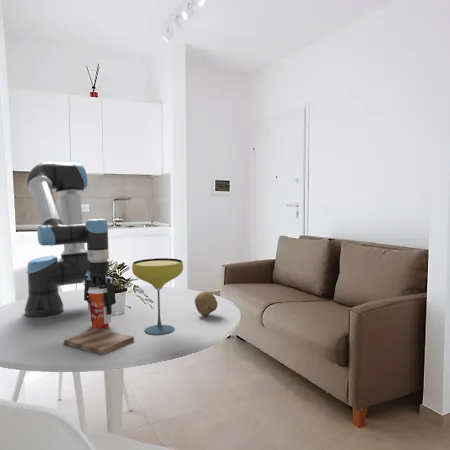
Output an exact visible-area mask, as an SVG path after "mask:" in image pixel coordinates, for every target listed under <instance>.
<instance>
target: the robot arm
mask: <svg viewBox="0 0 450 450" xmlns="http://www.w3.org/2000/svg"><path fill="white" fill-rule="evenodd" d="M26 185H27V190H28V191H29V192H30V193H31V194H32V196H33V200H34V204H35V208H36V212H37V214H38V218H39V222H40V225H39V226H38V228H37V241H38V244H39V245H40V246H42V247H43V246H50V247H51V246H52V247H53V246H61V245H63V251H62V253H61V254H60V258H58V256H56V255H47V256H41V257H40V256H39V257H36V258H34V259H31V260H30V261H29V262H28V263H27V267H26V268H27V271H26V273H27V287H28V290H27V291H28V296H27V299H26V304H25V308H24V315H25V316H27V317H32V318H33V317H35V318H37V317H47V316H53V315H57V314H59V313H62V312H63V311H64V303H63V301H62V298H61V296H60V294H59V287H60V286H68V285H75V284H82V282H83V281H85V282H84V288H83V289H84V291H83V292H84V294H83V300H84V301H86V302H87V303H88V312H89V313H88V314H89V316H88V317H89V321H90V322H91V313H90V303H89V293H88V290H89V287H97V286H99V289H105V288H107V292H106V293H103V299H104V303H105V305H104V324H107V323H109V324H110V323H112V314H113V313H112V306H113V305H115V304H116V303H117V301H116V300H117V299H116V293H115V285H114V283H115V278H114V276H113V277H110V276H109V274H108V271H109V270H110V265H109V264H110V262H109V259H110V257H109V254H110V253H109V226H108V221H107V219H105V218H95V219H94V218H92V219H87V220H86V222H83V212H82V211H83V209H82V197H81V196H82V195H83V194H84V193H85V191H84V190H85V189H87V187H88V176H87V172H86V169H85V167H84V166H83V165H82V163H77V162H55V161H54V162H51V161H45V162H40V163H39V164H37V165H35V166H33V167H32V169H31V170H30V171H29V173H28V175H27V179H26ZM53 190H55V193H56V195H58V196H59V198H60V210H61V213H60V210H59V209H58V208H59V207H58V205H57V200H56V199H55V195H54V192H53ZM85 244H86V247H85ZM103 285H104V286H103ZM103 292H104V291H103Z"/></svg>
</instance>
